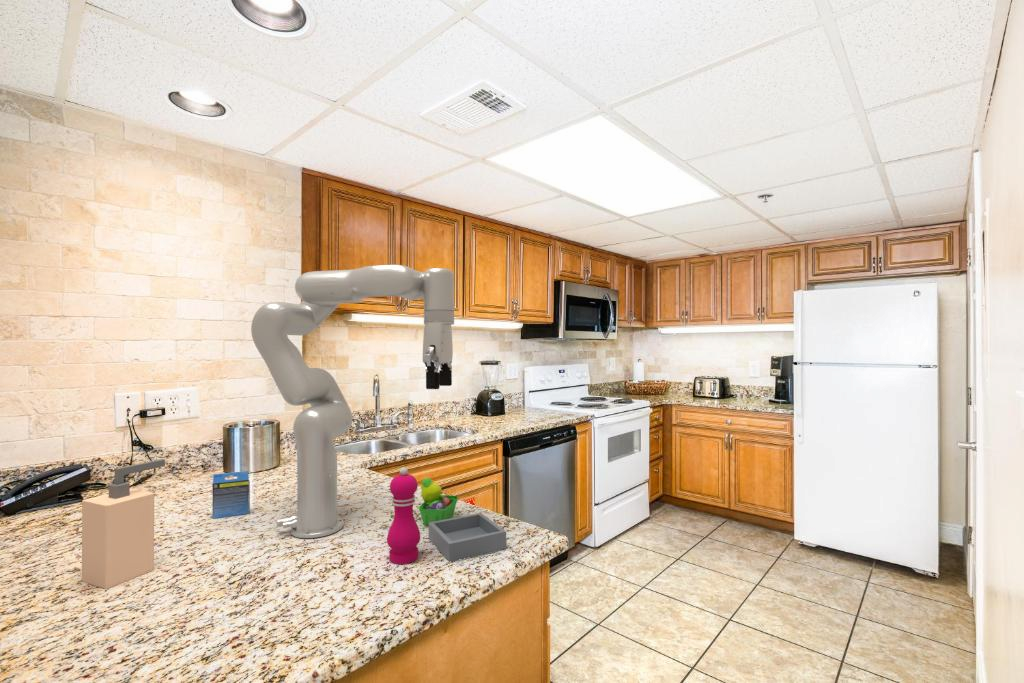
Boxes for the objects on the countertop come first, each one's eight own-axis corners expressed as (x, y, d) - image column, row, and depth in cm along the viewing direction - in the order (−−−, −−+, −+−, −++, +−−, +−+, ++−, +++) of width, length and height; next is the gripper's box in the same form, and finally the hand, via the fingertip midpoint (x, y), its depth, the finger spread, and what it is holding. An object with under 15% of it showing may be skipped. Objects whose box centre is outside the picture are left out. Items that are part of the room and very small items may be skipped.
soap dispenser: (106, 589, 90) (106, 475, 91) (81, 581, 94) (81, 471, 94) (175, 561, 102) (175, 460, 102) (150, 554, 105) (151, 457, 106)
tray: (449, 562, 101) (449, 543, 101) (428, 539, 113) (428, 522, 113) (506, 548, 108) (506, 531, 108) (481, 528, 120) (480, 512, 120)
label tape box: (250, 510, 134) (250, 467, 134) (249, 514, 131) (249, 470, 131) (214, 515, 130) (214, 470, 131) (211, 519, 127) (212, 474, 127)
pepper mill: (390, 551, 107) (390, 463, 107) (422, 550, 107) (421, 462, 107) (384, 566, 99) (384, 472, 100) (418, 564, 100) (418, 471, 100)
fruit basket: (445, 529, 119) (445, 485, 119) (413, 527, 121) (412, 483, 121) (459, 514, 130) (459, 473, 131) (429, 512, 132) (429, 472, 132)
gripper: (436, 320, 125) (436, 384, 125) (411, 316, 108) (411, 390, 108) (463, 320, 124) (463, 384, 124) (442, 316, 107) (442, 390, 107)
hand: (439, 387), depth 116 cm, fingers open, 9 cm apart
